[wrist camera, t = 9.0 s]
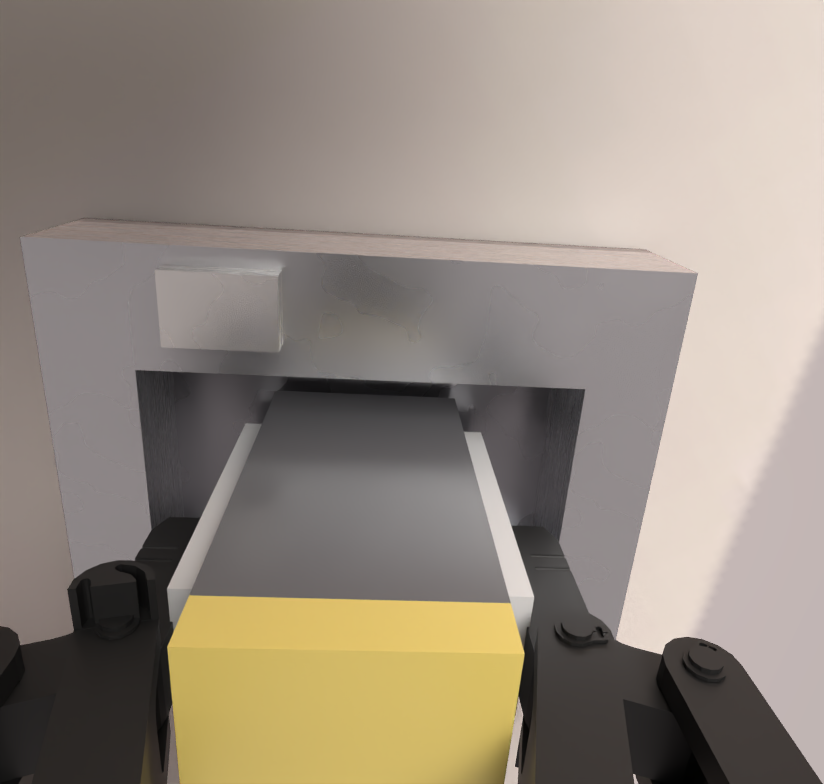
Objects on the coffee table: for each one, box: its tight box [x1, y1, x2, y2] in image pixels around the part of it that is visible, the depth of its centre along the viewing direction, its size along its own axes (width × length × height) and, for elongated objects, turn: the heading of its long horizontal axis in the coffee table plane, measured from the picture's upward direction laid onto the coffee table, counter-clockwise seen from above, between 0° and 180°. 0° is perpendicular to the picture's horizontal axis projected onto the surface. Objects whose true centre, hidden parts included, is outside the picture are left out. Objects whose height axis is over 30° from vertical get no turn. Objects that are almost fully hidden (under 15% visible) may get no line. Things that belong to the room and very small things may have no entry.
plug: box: [167, 391, 525, 784], centre depth 13 cm, size 5×5×9 cm
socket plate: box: [20, 218, 698, 640], centre depth 17 cm, size 14×12×4 cm
